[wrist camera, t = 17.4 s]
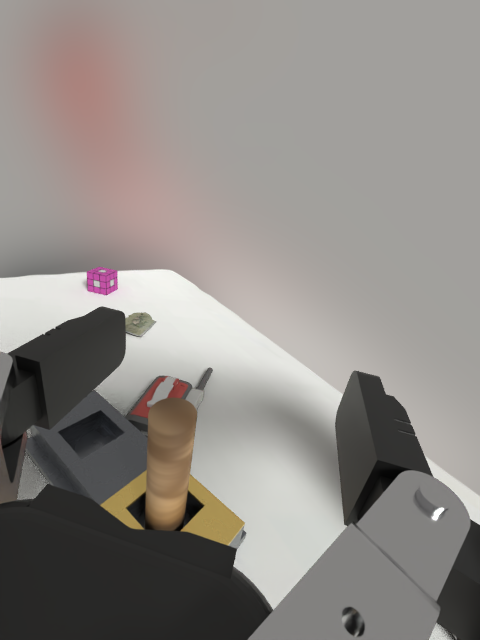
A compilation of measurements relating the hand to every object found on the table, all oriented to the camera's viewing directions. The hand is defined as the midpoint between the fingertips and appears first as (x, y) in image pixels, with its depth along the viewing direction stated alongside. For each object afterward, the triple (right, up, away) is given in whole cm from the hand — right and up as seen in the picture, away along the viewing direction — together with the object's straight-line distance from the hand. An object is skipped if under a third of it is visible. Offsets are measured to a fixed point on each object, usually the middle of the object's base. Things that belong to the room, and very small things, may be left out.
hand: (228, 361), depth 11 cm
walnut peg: (-8, -21, +22) cm, 31 cm away
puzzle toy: (-39, +10, +77) cm, 87 cm away
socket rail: (-13, -19, +26) cm, 35 cm away
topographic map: (-27, +1, +64) cm, 69 cm away
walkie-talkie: (-11, -13, +41) cm, 44 cm away
